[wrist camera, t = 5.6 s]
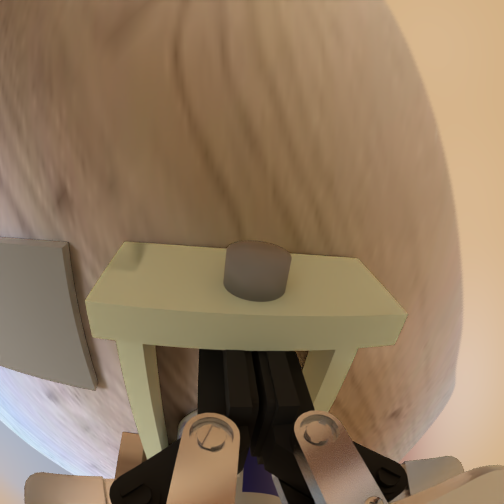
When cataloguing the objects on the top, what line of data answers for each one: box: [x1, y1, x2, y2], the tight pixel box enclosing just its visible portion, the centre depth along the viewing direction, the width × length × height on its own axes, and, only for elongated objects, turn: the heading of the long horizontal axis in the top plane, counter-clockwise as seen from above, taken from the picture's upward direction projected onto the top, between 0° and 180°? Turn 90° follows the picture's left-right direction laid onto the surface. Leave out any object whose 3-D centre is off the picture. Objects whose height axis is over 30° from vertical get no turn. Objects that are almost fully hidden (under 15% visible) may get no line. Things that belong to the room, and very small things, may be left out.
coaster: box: [0, 237, 98, 391], centre depth 11 cm, size 8×8×1 cm
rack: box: [85, 241, 408, 460], centre depth 12 cm, size 16×9×4 cm, turn 173°
